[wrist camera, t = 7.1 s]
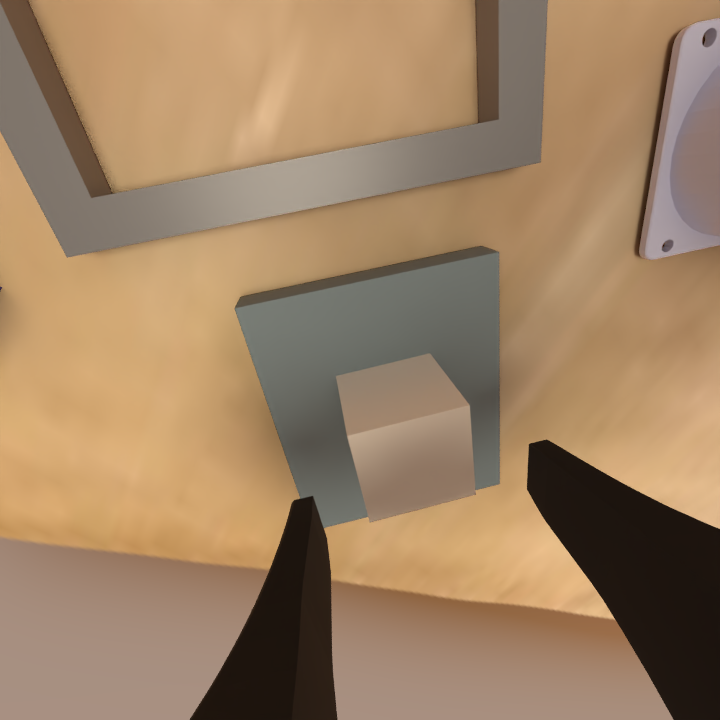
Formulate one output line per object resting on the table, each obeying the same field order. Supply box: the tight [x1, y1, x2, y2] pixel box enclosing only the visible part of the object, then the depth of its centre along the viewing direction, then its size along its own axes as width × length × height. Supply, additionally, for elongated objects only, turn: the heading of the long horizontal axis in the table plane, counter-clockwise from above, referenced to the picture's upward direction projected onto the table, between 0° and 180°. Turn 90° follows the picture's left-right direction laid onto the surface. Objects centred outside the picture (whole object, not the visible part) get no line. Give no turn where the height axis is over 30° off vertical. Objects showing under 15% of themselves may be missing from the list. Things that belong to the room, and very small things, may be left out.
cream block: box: [336, 353, 476, 522], centre depth 14 cm, size 4×4×4 cm
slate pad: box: [235, 246, 500, 528], centre depth 17 cm, size 10×12×2 cm
